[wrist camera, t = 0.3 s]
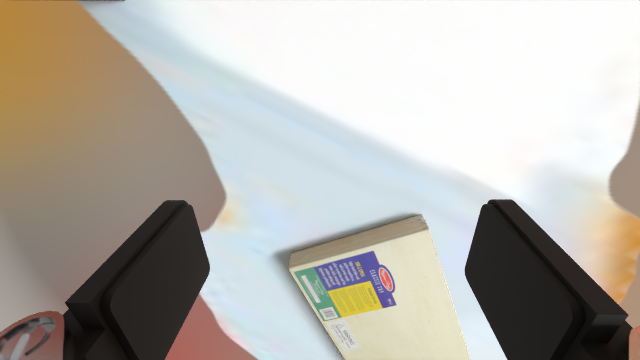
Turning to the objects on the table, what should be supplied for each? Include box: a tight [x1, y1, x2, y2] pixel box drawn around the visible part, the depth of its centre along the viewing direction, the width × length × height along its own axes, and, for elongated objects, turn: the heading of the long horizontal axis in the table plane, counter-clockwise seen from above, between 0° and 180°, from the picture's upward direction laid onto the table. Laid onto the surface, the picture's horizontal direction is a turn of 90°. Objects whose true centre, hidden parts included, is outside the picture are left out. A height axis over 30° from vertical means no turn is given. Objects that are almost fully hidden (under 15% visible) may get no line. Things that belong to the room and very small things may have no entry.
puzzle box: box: [288, 214, 470, 360], centre depth 54 cm, size 36×5×24 cm
